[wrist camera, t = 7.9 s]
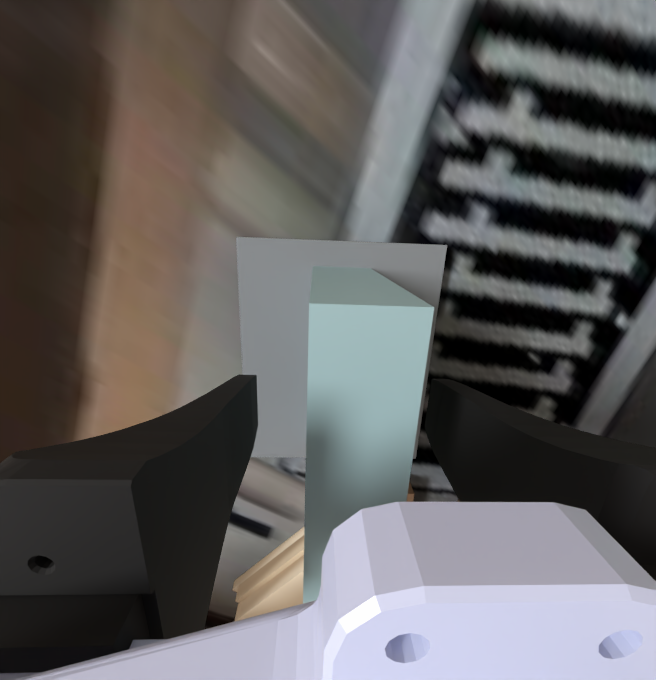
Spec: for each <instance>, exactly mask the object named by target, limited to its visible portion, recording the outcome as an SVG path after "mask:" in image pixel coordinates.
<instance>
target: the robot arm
mask: <svg viewBox="0 0 656 680" xmlns="http://www.w3.org/2000/svg"><path fill="white" fill-rule="evenodd" d="M257 429H258V403H257V375H237V376H235V377H233V378H232V379H230V380H228V381H227V382H225V383H223V384H222V385H220V386H218V387H217V388H215V389H213V390H212V391H210V392H208V393H207V394H205V395H203V396H201V397H199V398H198V399H196V400H194V401H192V402H190V403H188V404H186V405H185V406H182V407H180V408H178V409H176V410H174V411H172V412H169V413H167V414H165V415H162V416H160V417H157V418H155V419H152V420H149V421H146V422H143V423H140V424H137V425H134V426H131V427H128V428H125V429H122V430H119V431H115V432H112V433H108V434H104V435H101V436H96V437H92V438H88V439H84V440H80V441H75V442H70V443H65V444H59V445H54V446H48V447H43V448H37V449H32V450H26V451H19V452H15V453H14V454H12V455H11V456H9V457H8V458H7V459H5V460H4V461H3V462H1V463H0V680H656V448H652V447H647V446H642V445H637V444H632V443H628V442H623V441H619V440H615V439H610V438H606V437H602V436H598V435H595V434H591V433H587V432H584V431H580V430H576V429H573V428H570V427H566V426H563V425H560V424H557V423H554V422H551V421H548V420H546V419H543V418H540V417H537V416H534V415H532V414H529V413H527V412H524V411H522V410H519V409H517V408H514V407H512V406H510V405H507V404H505V403H503V402H501V401H498V400H496V399H494V398H492V397H490V396H488V395H485V394H483V393H481V392H479V391H477V390H475V389H473V388H470V387H468V386H466V385H464V384H461V383H459V382H456V381H454V380H450V379H432V381H431V387H430V394H429V400H428V407H427V414H426V420H425V430H426V433H427V436H428V439H429V442H430V445H431V447H432V450H433V452H434V454H435V456H436V458H437V460H438V462H439V464H440V466H441V467H442V469H443V471H444V473H445V475H446V477H447V479H448V480H449V482H450V484H451V486H452V488H453V490H454V491H455V493H456V495H457V497H458V499H459V501H460V502H392V503H387V504H383V505H378V506H373V507H368V508H363V509H361V510H360V511H358V512H357V513H355V514H354V515H353V516H351V517H350V518H349V519H347V520H346V521H345V522H343V523H342V524H341V525H339V526H338V527H336V528H335V529H334V530H333V531H332V534H331V536H330V539H329V541H328V544H327V546H326V549H325V551H324V554H323V556H322V573H321V587H320V591H319V596H318V598H317V600H315V601H311V602H307V603H303V604H300V605H296V606H292V607H288V608H284V609H281V610H277V611H273V612H269V613H265V614H262V615H258V616H254V617H250V618H246V619H243V620H239V621H235V622H231V623H227V624H224V625H220V626H216V627H212V628H208V629H205V630H204V628H205V623H206V618H207V614H208V609H209V604H210V600H211V595H212V590H213V586H214V581H215V577H216V572H217V568H218V564H219V559H220V555H221V550H222V546H223V542H224V538H225V534H226V530H227V526H228V522H229V518H230V514H231V511H232V508H233V504H234V502H235V499H236V496H237V493H238V490H239V488H240V485H241V482H242V479H243V476H244V474H245V471H246V468H247V465H248V463H249V460H250V457H251V454H252V451H253V448H254V443H255V439H256V434H257Z"/></svg>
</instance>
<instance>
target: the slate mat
mask: <svg viewBox="0 0 656 680" xmlns="http://www.w3.org/2000/svg"><path fill="white" fill-rule="evenodd" d="M236 247H237V268H238V288H239V309H240V330H241V351H242V372H243V375H257V403H258V429H257V434H256V439H255V443H254V448H253V451H252V454H251V457H302V458H306V430H307V381H308V333H309V300H310V290H311V281H312V271H313V266H325V267H353V268H371V269H373V270H374V271H376V272H377V273H379V274H381V275H382V276H384V277H386V278H387V279H389V280H391V281H392V282H394V283H395V284H397V285H399V286H400V287H402V288H404V289H405V290H407V291H408V292H410V293H412V294H413V295H415V296H417V297H418V298H420V299H422V300H423V301H425V302H426V303H428V304H430V305H431V306H433V307H434V314H433V321H432V327H431V334H430V341H429V348H428V355H427V362H426V369H425V376H424V383H423V390H422V397H421V404H420V411H419V418H418V425H417V432H416V439H415V446H414V453H413V459H416V454H417V447H418V440H419V433H420V426H421V420H422V413H423V406H424V399H425V393H426V386H427V379H428V372H429V366H430V359H431V352H432V345H433V338H434V332H435V325H436V318H437V311H438V305H439V298H440V291H441V284H442V278H443V271H444V264H445V257H446V250H447V245H432V244H407V243H382V242H357V241H332V240H307V239H282V238H257V237H236Z"/></svg>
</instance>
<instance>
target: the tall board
mask: <svg viewBox="0 0 656 680" xmlns="http://www.w3.org/2000/svg"><path fill="white" fill-rule="evenodd" d="M433 314H434V307H433V306H431V305H430V304H428V303H426V302H425V301H423V300H422V299H420V298H418V297H417V296H415V295H413V294H412V293H410V292H408V291H407V290H405V289H404V288H402V287H400V286H399V285H397V284H395V283H394V282H392V281H391V280H389V279H387V278H386V277H384V276H382V275H381V274H379V273H377V272H376V271H374V270H373V269H371V268H353V267H325V266H313V271H312V281H311V290H310V300H309V333H308V381H307V430H306V479H305V527H304V576H303V603H307V602H311V601H315V600H317V598H318V596H319V591H320V587H321V573H322V556H323V554H324V551H325V549H326V546H327V544H328V541H329V539H330V536H331V534H332V531H333V530H334V529H335V528H336V527H338V526H339V525H341V524H342V523H343V522H345V521H346V520H347V519H349V518H350V517H351V516H353V515H354V514H355V513H357V512H358V511H360V510H361V509H363V508H368V507H373V506H378V505H383V504H387V503H392V502H406V501H407V494H408V487H409V480H410V473H411V466H412V459H413V453H414V446H415V439H416V432H417V425H418V418H419V411H420V404H421V397H422V390H423V383H424V376H425V369H426V362H427V355H428V348H429V341H430V334H431V327H432V321H433Z"/></svg>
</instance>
